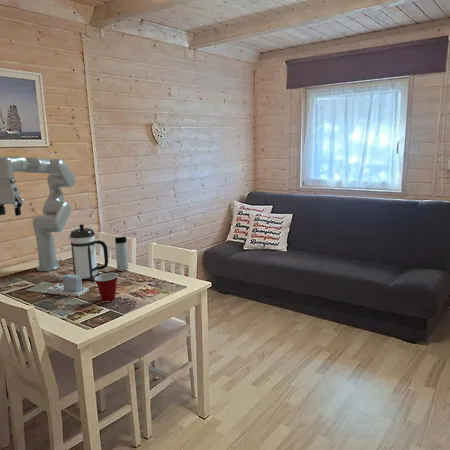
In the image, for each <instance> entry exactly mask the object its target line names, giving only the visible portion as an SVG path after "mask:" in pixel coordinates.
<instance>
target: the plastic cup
mask: <svg viewBox="0 0 450 450" xmlns="http://www.w3.org/2000/svg"><path fill="white" fill-rule="evenodd" d="M118 276H119V274H118V273H116V272H107V273H102V274H99V275H98V276H97V275H95V276H94V277H93V278H94V282H96V285H97V289H98V292H99V295H100V299H101V301H102V302H103V301H112V300H114V299H115V298H116V292H117V281H118ZM115 300H116V299H115ZM115 300H114V301H115ZM112 302H113V301H112Z"/></svg>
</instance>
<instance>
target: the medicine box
mask: <svg viewBox="0 0 450 450" xmlns="http://www.w3.org/2000/svg"><path fill="white" fill-rule="evenodd" d="M82 280H83V279H81V276H80V275H74V274H69V273H68V274H65V275H63V276H62V283H63V287H64V291H65V292H74V293H79V292H81V291H82V290H83V289H82V287H83V283H82V282H83V281H82Z"/></svg>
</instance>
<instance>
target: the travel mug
mask: <svg viewBox="0 0 450 450" xmlns="http://www.w3.org/2000/svg"><path fill="white" fill-rule="evenodd" d="M114 245H115V256H116V259H115V260H116V269H117V270H118V271H117V272H120V271H122V270H126V269H128V270H129V258H128V242H127V236H120V237H118V236H117V237H115V239H114Z"/></svg>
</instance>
